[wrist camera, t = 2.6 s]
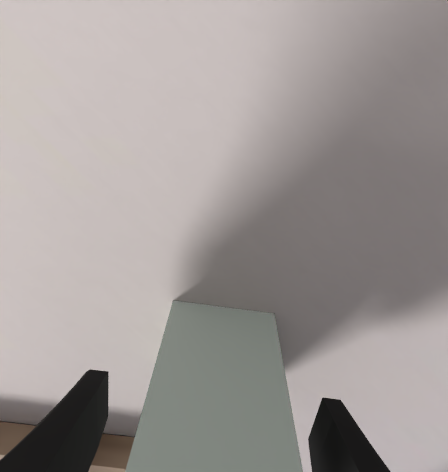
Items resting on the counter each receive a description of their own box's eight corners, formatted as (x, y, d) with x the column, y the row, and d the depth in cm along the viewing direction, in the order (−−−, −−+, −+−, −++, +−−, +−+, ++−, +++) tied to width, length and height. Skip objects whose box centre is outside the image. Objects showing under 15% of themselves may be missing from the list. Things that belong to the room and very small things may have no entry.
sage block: (274, 313, 14) (310, 513, 7) (256, 388, 15) (273, 607, 9) (173, 300, 14) (119, 492, 7) (166, 377, 15) (116, 590, 9)
